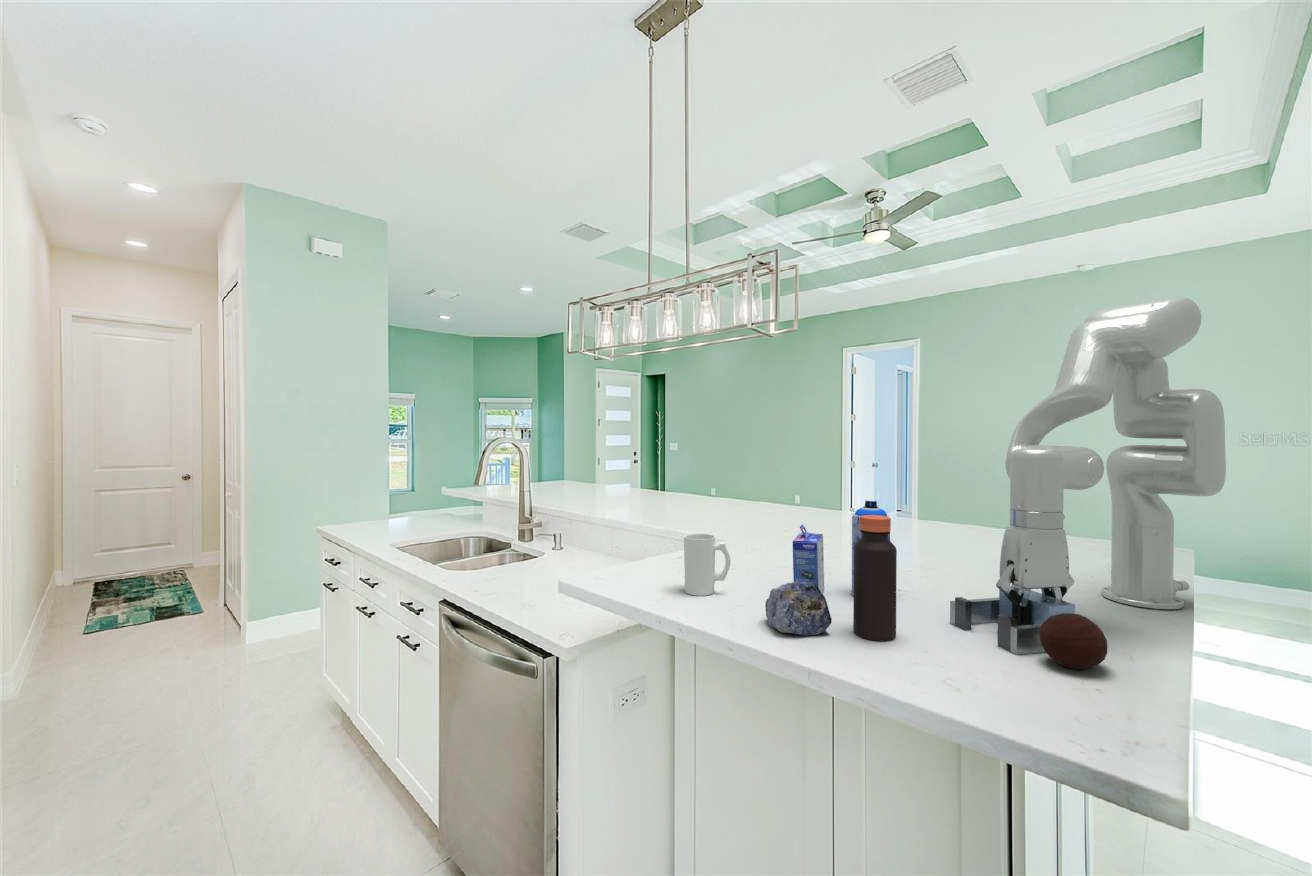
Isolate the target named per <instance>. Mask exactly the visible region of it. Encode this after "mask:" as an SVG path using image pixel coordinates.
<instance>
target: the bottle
mask: <svg viewBox="0 0 1312 876" xmlns="http://www.w3.org/2000/svg"><path fill="white" fill-rule="evenodd" d="M891 522H892V521H891V517H890V516H889V517H886V516H879V515H863V516H860V532H861V533H862V537H861V538H860V539H859V540H858V541H857V542H856V543H855V544H854V597H853V607H852V608H853V612H852V613H853V619H852V620H853V621H852V623H853V624H852V625H853V633H854V634H856V635H857V636H859V638H860V637H861V638H863V639H866V640H870V641H877V642H884V641H885V642H886V641H891V640H894V639H895V638H896V636H897V571H898V570H897V567H898V566H897V561H898V560H897V559H898V558H897V557H898V556H897V554H898V553H897V547H896V545H894V543H893V542H892V541H891V539H890V540H889V539H888V534H890V535H891V529H892V528H891V524H892V523H891ZM889 531H890V532H889Z"/></svg>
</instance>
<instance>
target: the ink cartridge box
mask: <svg viewBox="0 0 1312 876" xmlns="http://www.w3.org/2000/svg"><path fill="white" fill-rule="evenodd" d="M799 529H800V531H801V532H799V533H798V534H797V536H795V538H794V539H793V540H792V569H793V572H792V573H793V574H792V575H793V582H814V583H815V584H816V585H817V587H818V588H819V589H820V591H821V593H822V594H823V592H824V590H825V561H824V560H825V559H824V558H825V557H824V534H823V533H815V532H814V533H813V532H812V533H811V532H808V531H807V528H806V527H805V526H804V524H801V525H800V526H799Z"/></svg>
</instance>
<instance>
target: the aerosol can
mask: <svg viewBox="0 0 1312 876" xmlns="http://www.w3.org/2000/svg"><path fill="white" fill-rule="evenodd" d="M863 515H879V516H886V517H890V515H889V514H887V512H886V511H885V510H884V509H883V508H881V507H879V506H878V502H877V500H865V502H864V505H863V506H861V507H860V508H858V509H856V511H855V512H854V513H852V516H851V591H850V596H852V597H853V598H854V544H855V543H856V542H857V541H858V540H859V539H860V538H861V537H862V533H861V532H860V516H863ZM889 532H890V534H888V539H889V540H890V541H891V531H889Z"/></svg>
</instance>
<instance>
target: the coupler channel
mask: <svg viewBox="0 0 1312 876" xmlns="http://www.w3.org/2000/svg"><path fill="white" fill-rule="evenodd" d="M949 605H950V606H949V615H950V616H949V624H951V625H954V626H955V627H958V628H959V629H962V630H964V631H972V625H978V624H989V623H997V647H1000V648H1001V647H1002V649H1003V648H1004V650H1006V651H1008V652H1010V653H1012V654H1013V655H1017V656H1020V655H1031V654H1039V653H1046V652H1045V650H1044V648H1043V647H1042V644H1041V641H1040V636H1039V631H1040V628H1041V625H1042V624H1034V625H1022V626H1017V619H1015V618H1012V617H1010V616H1007V615H1005V614H1003V615H999V597H989V598H974V599H972V598H971V599H967V598H964V597H962V596H956V597H955V598H954V600H950V602H949ZM1091 621H1092V622H1094V623H1095V624H1096V625H1097V626H1098V622H1097V621H1095V620H1091Z"/></svg>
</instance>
